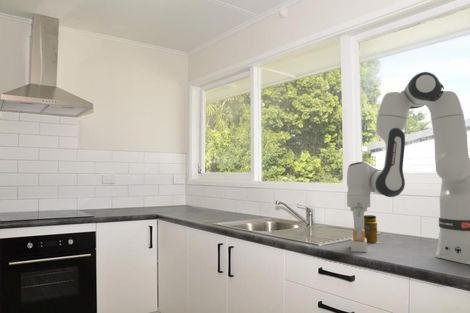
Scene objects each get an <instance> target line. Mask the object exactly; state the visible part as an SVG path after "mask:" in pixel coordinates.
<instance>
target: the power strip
mask: <svg viewBox="0 0 470 313" xmlns="http://www.w3.org/2000/svg"><path fill="white" fill-rule="evenodd" d="M350 239H351V240H350V243H351V244H350V246H351V247H350V250H351V252H357V253H359V252H360V253H368V244H367V239H366V238H365V241H356V240H353V236H351V238H350Z"/></svg>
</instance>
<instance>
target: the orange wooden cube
mask: <svg viewBox="0 0 470 313" xmlns="http://www.w3.org/2000/svg"><path fill="white" fill-rule="evenodd" d="M352 234H353V235H352V237H353V240H356V241H365V230H364V229H362V233H361V238H357V233H356V229H355V228H353V229H352Z"/></svg>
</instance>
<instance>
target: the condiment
mask: <svg viewBox="0 0 470 313" xmlns="http://www.w3.org/2000/svg"><path fill="white" fill-rule="evenodd" d="M364 230H365V238H366V239H367V245H368V244H380V243H382V242H381V241H378V222H377V216H376V215H372V214H370V215H369V214H364Z"/></svg>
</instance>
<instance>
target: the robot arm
mask: <svg viewBox="0 0 470 313" xmlns="http://www.w3.org/2000/svg"><path fill="white" fill-rule="evenodd" d="M379 106H380V107H379V110H378V113H377V118H376V125H375V126H376V128H375V130H376V134H377V135H378V137H379V138H380V139H382V140H383V142H384V144H385V155H384V164H383V166H384V167H383V169H380V168H377V166H374V165H372V164H370V163H369V162H368V161H356V162H352V163H350V164H349V165H348V167H347V172H346V186H347V193H346V206H347V207H349V208H350V209H349V210H350V211H351V212H352V215H353V229H356V233H357V238H361V233H362V229H364V216H365V212H367V211H368V208H371V193H374V194H376V195H377V194H378V195H383V196H385V197H388V198H393V197H397V196H399V195H400V194H402V192H403V191H404V189H405V184H406V180H405V176H404V172H403V168H404V156H405V147H406V146H405V145H406V144H405V143H406V127H407V123H408V122H407V121H408V116H409V111H410V110H412V109H418V108H422V107H424V106H425V107H427V109H428V111H429V113H430V120H431V126H432V132H433V138H434V139H433V140H434V162H435V172H436V174H437V175H438V177H439V178H440V179H441V186H440V187H441V188H440V194H439V217H438V227H439V234H438V239H437V240H438V241H437V247H436V248H437V249H436V253H435V257H436V258H439V259H443V260H447V261H451V262H456V263H461V264H465V265H470V157H469V147H468V133H467V126H466V121H465V115H464V110H463V106H462V103H461V100H460V98H459V95H458V93H457V92H456V91H454V90H451V89H445V86H444V85H443V84H442V82H441V81H440V80H439V79H438V77H437V76H436V75H435V74H433V73H432V72H429V71H424V72H418V73H416V74H415V75H413V76H412V77H411V78H410V79H409V81H407V83H406V84H405V86H404V88H403V89H402V90H400V91H398V90H392V91H388V92H386V93H385V94H384V95H383V98H382V99H381V102H380V105H379Z"/></svg>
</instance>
